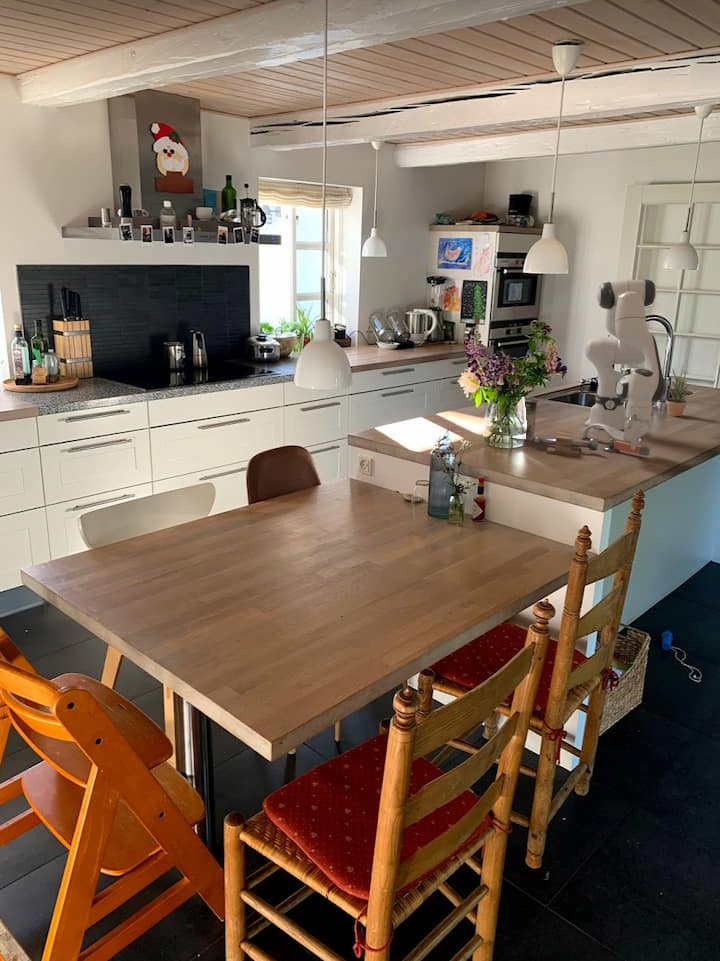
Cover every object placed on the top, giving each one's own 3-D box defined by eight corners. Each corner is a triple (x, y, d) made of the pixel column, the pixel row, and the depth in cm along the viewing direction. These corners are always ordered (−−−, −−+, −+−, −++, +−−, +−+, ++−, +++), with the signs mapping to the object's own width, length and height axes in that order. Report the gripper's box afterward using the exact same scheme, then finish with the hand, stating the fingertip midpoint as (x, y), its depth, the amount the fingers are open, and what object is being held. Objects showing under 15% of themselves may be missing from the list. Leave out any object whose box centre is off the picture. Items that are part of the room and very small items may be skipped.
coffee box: (509, 438, 311) (513, 400, 306) (512, 435, 316) (515, 397, 312) (532, 441, 308) (536, 402, 303) (534, 437, 314) (538, 399, 309)
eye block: (548, 444, 303) (550, 429, 301) (579, 447, 300) (581, 432, 298) (546, 453, 290) (548, 437, 288) (578, 456, 287) (580, 440, 285)
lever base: (603, 447, 300) (604, 436, 299) (618, 449, 299) (620, 438, 298) (603, 451, 295) (604, 440, 294) (619, 452, 293) (620, 441, 292)
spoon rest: (643, 445, 306) (646, 428, 304) (634, 451, 297) (636, 433, 295) (587, 436, 320) (589, 419, 318) (576, 441, 311) (578, 424, 309)
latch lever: (613, 448, 295) (614, 441, 294) (616, 447, 296) (617, 440, 295) (646, 455, 286) (647, 448, 285) (649, 454, 287) (650, 447, 286)
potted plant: (660, 414, 364) (667, 363, 357) (669, 412, 370) (677, 362, 363) (680, 418, 357) (688, 366, 350) (689, 416, 363) (697, 364, 356)
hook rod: (534, 443, 299) (535, 433, 298) (597, 448, 292) (598, 438, 291) (533, 444, 296) (534, 434, 295) (597, 450, 290) (598, 440, 288)
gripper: (639, 418, 274) (634, 455, 278) (654, 410, 290) (649, 445, 294) (621, 416, 277) (616, 452, 281) (637, 408, 293) (633, 443, 297)
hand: (633, 448), depth 288 cm, fingers closed
